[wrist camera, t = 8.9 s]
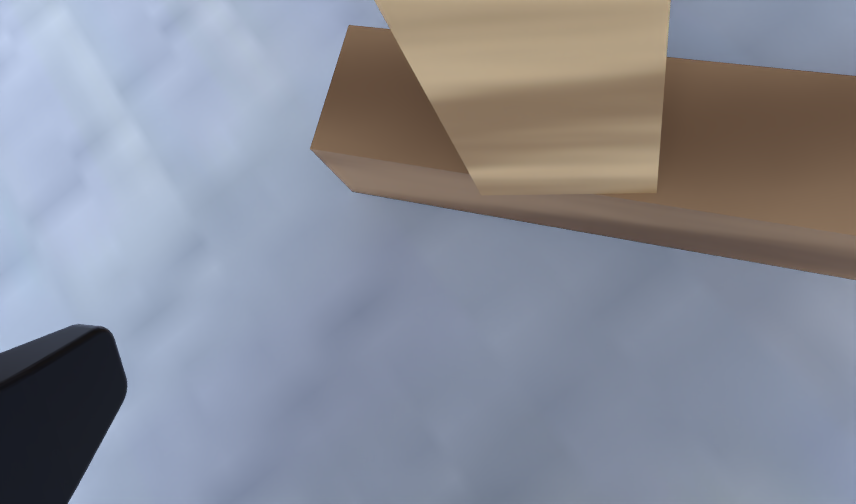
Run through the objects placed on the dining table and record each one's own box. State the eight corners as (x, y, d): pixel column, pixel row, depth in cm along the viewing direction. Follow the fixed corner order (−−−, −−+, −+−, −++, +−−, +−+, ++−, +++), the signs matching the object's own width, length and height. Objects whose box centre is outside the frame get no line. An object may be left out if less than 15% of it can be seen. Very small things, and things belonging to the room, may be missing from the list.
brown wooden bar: (990, 303, 19) (1062, 269, 16) (352, 191, 25) (310, 148, 22) (1006, 159, 20) (1077, 97, 17) (385, 81, 26) (348, 25, 22)
